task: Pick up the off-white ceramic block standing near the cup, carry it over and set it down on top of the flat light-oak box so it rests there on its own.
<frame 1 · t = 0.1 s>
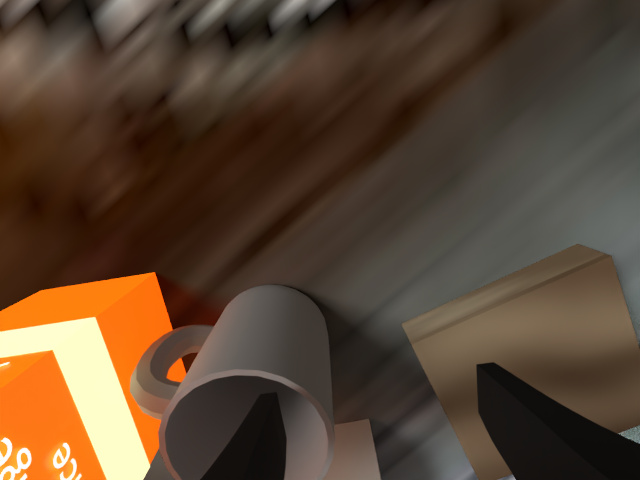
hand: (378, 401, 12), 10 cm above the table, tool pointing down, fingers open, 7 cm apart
cup: (253, 327, 23), on the table
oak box: (512, 353, 24), on the table
orange juice: (120, 339, 23), on the table
ceramic block: (344, 448, 25), on the table
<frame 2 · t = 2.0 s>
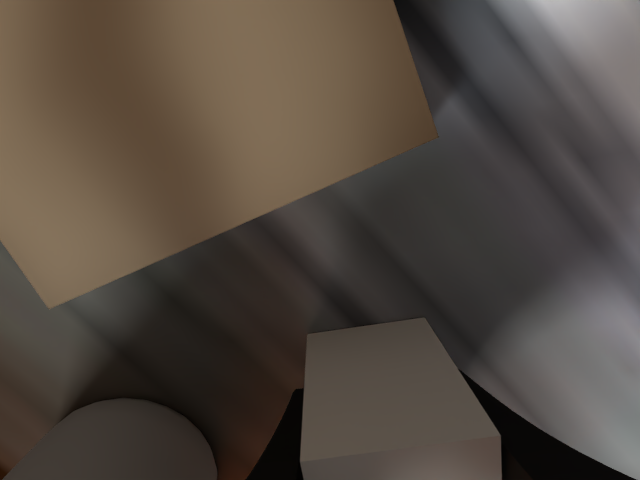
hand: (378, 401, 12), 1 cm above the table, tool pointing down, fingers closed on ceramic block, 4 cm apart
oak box: (167, 39, 11), on the table
ceramic block: (372, 376, 13), on the table, touching gripper
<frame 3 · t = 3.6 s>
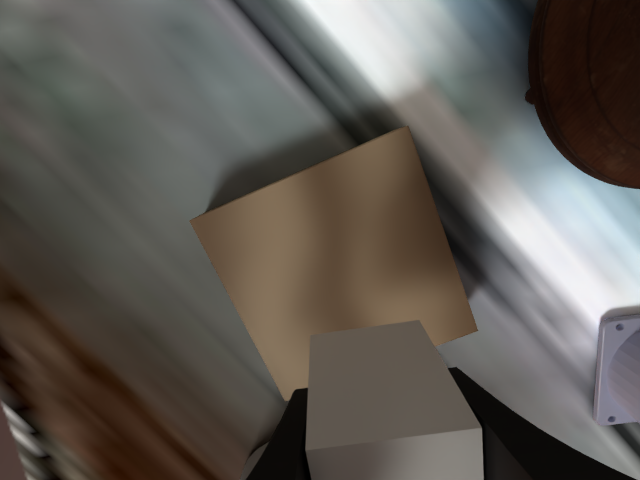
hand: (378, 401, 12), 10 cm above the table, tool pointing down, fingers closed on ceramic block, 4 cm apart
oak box: (337, 260, 21), on the table
ceramic block: (370, 374, 14), point 7 cm above the table, touching gripper
when the fingers open (5 cm above the table, at t = 5.0 s): ceramic block stays where it is, resting on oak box.
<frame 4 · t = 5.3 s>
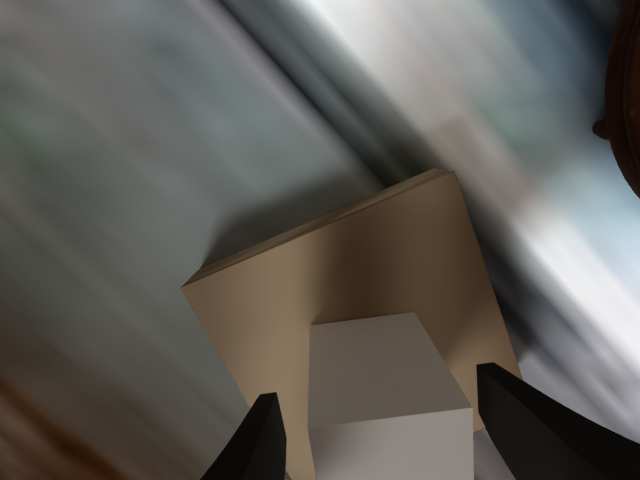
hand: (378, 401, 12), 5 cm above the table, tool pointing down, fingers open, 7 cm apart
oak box: (358, 320, 18), on the table, touching ceramic block
ceramic block: (367, 363, 15), point 2 cm above the table, touching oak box
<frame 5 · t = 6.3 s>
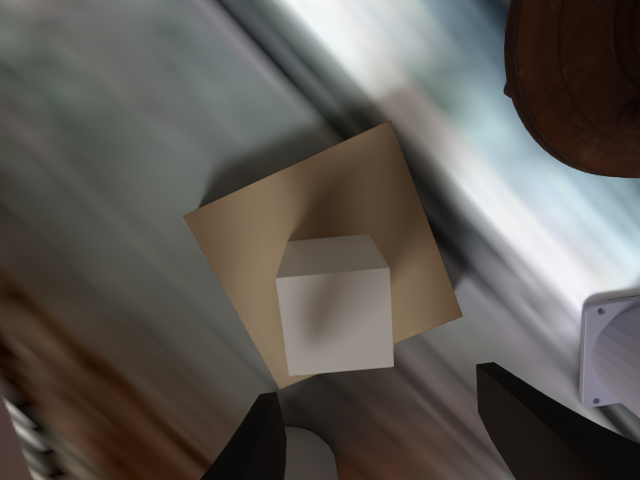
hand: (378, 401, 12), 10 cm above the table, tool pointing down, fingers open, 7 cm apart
cup: (285, 474, 26), on the table
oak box: (327, 252, 22), on the table
ceramic block: (331, 275, 19), point 2 cm above the table
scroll: (621, 39, 19), on the table
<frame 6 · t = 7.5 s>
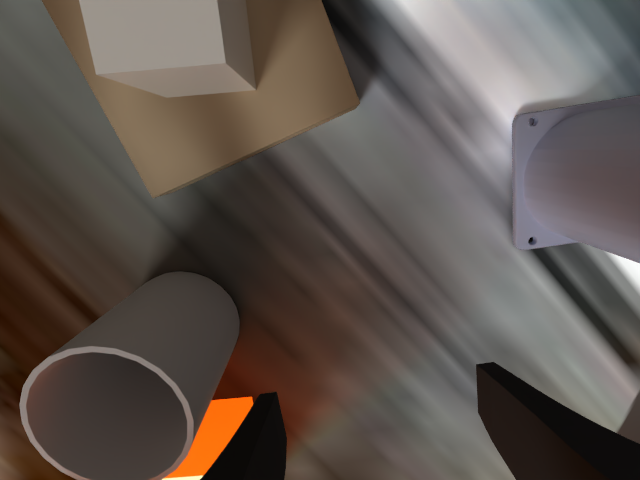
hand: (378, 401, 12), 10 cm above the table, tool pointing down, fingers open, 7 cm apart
cup: (186, 335, 23), on the table
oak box: (215, 51, 19), on the table, touching ceramic block
orange juice: (203, 441, 26), on the table
ceramic block: (203, 43, 16), point 2 cm above the table, touching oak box
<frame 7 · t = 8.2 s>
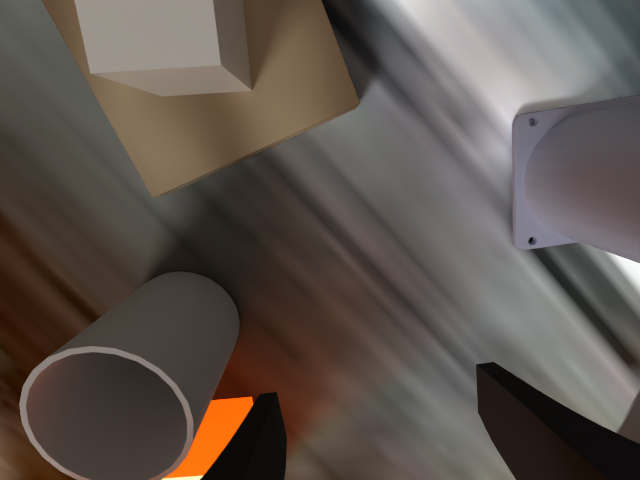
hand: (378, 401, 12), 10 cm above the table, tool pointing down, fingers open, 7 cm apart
cup: (186, 335, 23), on the table
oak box: (215, 51, 19), on the table, touching ceramic block
orange juice: (203, 441, 26), on the table
ceramic block: (200, 43, 16), point 2 cm above the table, touching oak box
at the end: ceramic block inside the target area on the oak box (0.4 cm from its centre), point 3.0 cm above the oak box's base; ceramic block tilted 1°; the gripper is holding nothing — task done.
